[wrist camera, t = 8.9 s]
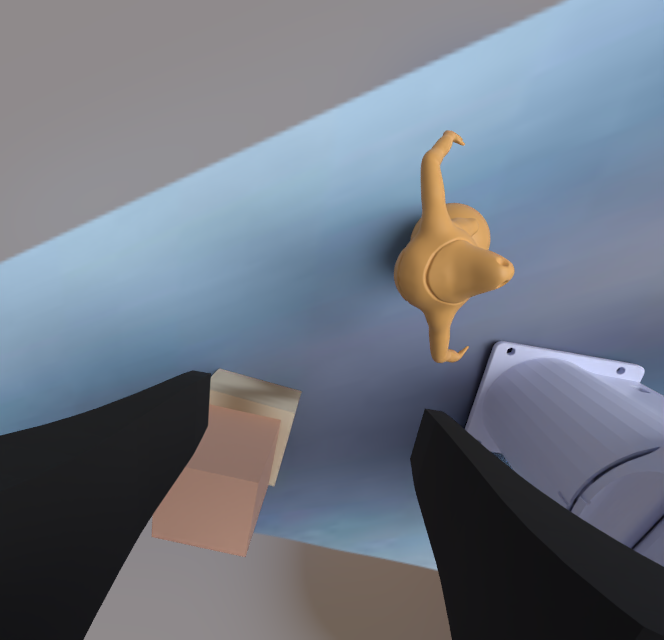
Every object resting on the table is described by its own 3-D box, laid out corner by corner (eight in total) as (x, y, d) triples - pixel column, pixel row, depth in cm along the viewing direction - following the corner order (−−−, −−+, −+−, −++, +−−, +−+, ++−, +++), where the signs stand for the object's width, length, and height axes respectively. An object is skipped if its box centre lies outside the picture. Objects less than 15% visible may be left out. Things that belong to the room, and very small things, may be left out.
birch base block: (302, 389, 22) (295, 413, 19) (283, 455, 24) (274, 486, 21) (220, 366, 22) (201, 387, 19) (207, 434, 24) (188, 463, 21)
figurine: (473, 304, 19) (651, 416, 8) (377, 315, 20) (414, 435, 9) (471, 159, 17) (719, 21, 6) (362, 176, 18) (387, 84, 6)
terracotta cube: (281, 420, 20) (258, 482, 15) (269, 481, 21) (245, 557, 16) (203, 402, 19) (155, 460, 15) (197, 465, 21) (151, 536, 16)
